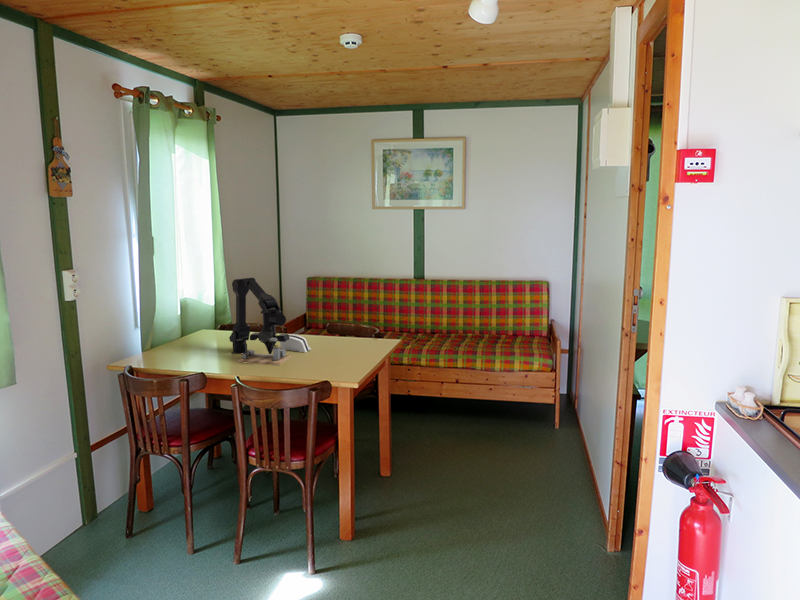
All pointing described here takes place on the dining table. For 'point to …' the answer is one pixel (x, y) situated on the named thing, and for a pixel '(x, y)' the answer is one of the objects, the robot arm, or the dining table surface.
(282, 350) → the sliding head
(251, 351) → the rail
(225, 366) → the dining table surface
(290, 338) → the grey curved block
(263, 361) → the brown wooden board
